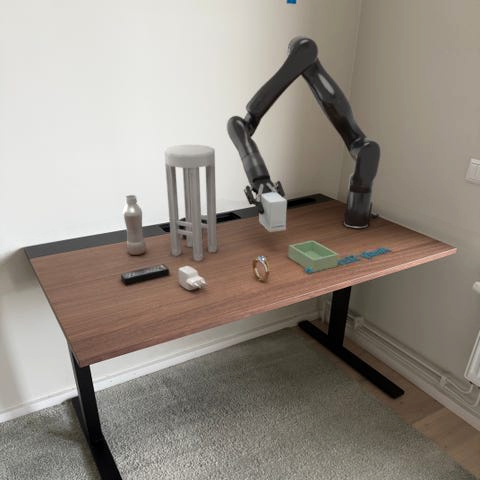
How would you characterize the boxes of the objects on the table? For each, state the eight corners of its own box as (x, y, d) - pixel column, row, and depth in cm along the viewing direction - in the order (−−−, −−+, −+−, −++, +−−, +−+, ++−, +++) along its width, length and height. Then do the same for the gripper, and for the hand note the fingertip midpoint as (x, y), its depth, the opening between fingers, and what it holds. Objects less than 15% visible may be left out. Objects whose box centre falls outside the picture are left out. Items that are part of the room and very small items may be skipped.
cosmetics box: (257, 222, 168) (258, 192, 163) (274, 220, 170) (276, 191, 165) (268, 232, 160) (269, 201, 155) (286, 230, 162) (287, 200, 156)
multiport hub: (121, 280, 148) (120, 273, 147) (164, 270, 155) (163, 263, 154) (125, 285, 145) (125, 278, 144) (169, 275, 151) (169, 268, 150)
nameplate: (393, 252, 168) (382, 248, 172) (393, 250, 168) (383, 246, 172) (310, 275, 152) (301, 269, 156) (310, 273, 152) (301, 267, 156)
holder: (312, 251, 169) (313, 240, 167) (337, 266, 158) (339, 254, 156) (288, 257, 164) (288, 245, 162) (312, 272, 154) (313, 260, 152)
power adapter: (211, 294, 141) (210, 276, 138) (197, 299, 138) (197, 280, 135) (190, 281, 148) (189, 263, 145) (177, 285, 145) (175, 268, 142)
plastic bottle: (150, 251, 168) (144, 195, 158) (139, 258, 163) (132, 200, 153) (135, 248, 170) (128, 192, 160) (123, 255, 165) (116, 198, 155)
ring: (270, 283, 147) (271, 259, 143) (262, 285, 145) (262, 261, 141) (258, 275, 152) (259, 251, 148) (250, 277, 151) (250, 253, 146)
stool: (189, 241, 176) (184, 142, 159) (224, 249, 170) (223, 147, 152) (163, 255, 165) (154, 150, 147) (200, 264, 158) (196, 156, 140)
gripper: (241, 165, 159) (258, 209, 157) (277, 161, 165) (294, 203, 163) (234, 178, 166) (250, 220, 163) (268, 173, 172) (285, 213, 169)
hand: (272, 211), depth 163 cm, fingers closed on cosmetics box, 7 cm apart
